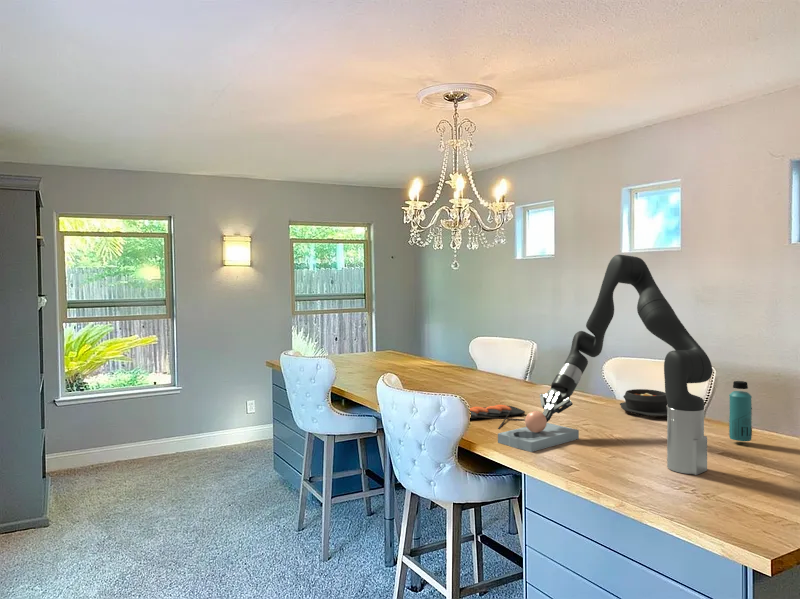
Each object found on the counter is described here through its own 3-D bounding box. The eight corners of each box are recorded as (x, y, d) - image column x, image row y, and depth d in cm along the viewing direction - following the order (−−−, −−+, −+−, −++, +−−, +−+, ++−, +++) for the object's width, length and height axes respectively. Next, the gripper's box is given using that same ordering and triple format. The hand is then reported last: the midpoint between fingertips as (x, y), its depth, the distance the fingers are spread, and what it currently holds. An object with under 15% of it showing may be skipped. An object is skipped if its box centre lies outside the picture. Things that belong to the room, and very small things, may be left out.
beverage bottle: (740, 446, 185) (740, 383, 185) (723, 441, 192) (724, 380, 191) (757, 445, 187) (757, 382, 187) (740, 439, 194) (740, 379, 193)
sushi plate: (509, 409, 246) (509, 400, 246) (550, 426, 217) (550, 415, 217) (445, 415, 237) (445, 405, 236) (478, 433, 208) (478, 422, 208)
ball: (554, 422, 195) (544, 408, 192) (543, 438, 192) (534, 424, 189) (537, 419, 200) (528, 405, 197) (527, 434, 197) (517, 420, 194)
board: (578, 438, 197) (578, 429, 197) (530, 452, 182) (530, 442, 182) (545, 430, 208) (545, 422, 208) (497, 442, 194) (497, 433, 193)
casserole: (687, 419, 223) (687, 397, 222) (641, 421, 220) (641, 399, 220) (650, 406, 247) (650, 386, 247) (608, 407, 245) (608, 387, 244)
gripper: (546, 370, 207) (523, 410, 200) (578, 375, 197) (554, 417, 190) (556, 384, 211) (533, 423, 204) (588, 389, 200) (565, 430, 193)
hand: (544, 420), depth 197 cm, fingers closed
